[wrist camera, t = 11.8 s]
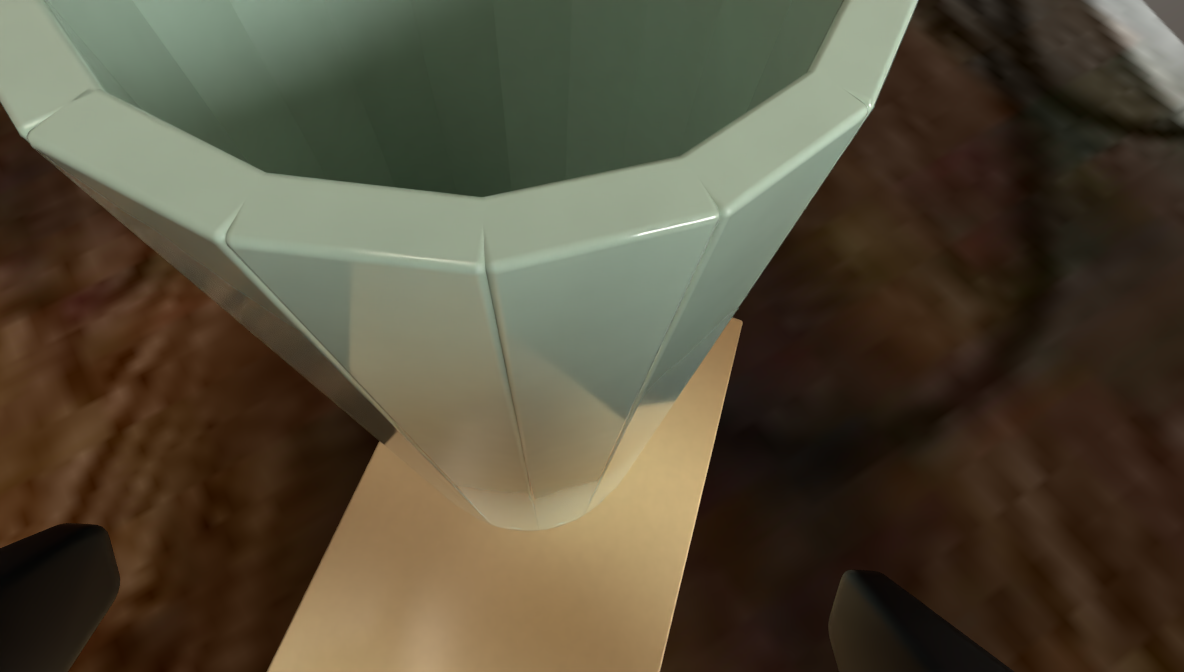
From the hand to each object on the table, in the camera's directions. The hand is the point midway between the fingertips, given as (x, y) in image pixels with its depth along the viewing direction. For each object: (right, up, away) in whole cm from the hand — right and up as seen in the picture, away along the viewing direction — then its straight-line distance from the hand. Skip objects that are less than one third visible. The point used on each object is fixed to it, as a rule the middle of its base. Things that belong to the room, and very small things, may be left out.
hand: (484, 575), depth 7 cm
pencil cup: (0, +1, +8) cm, 8 cm away
